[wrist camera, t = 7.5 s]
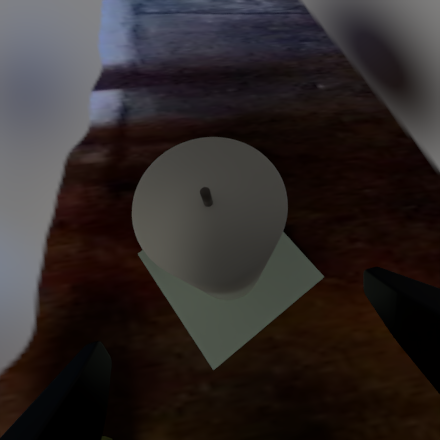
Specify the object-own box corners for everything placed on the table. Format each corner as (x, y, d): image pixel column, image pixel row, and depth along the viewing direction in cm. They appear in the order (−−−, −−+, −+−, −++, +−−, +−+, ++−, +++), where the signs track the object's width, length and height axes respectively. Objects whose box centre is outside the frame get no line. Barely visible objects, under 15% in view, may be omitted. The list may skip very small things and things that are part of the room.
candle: (273, 258, 20) (325, 171, 8) (235, 314, 18) (222, 320, 6) (220, 221, 21) (192, 97, 9) (181, 272, 20) (86, 211, 8)
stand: (316, 280, 21) (324, 276, 19) (216, 364, 19) (213, 370, 17) (238, 191, 24) (237, 181, 22) (146, 258, 22) (137, 253, 21)
